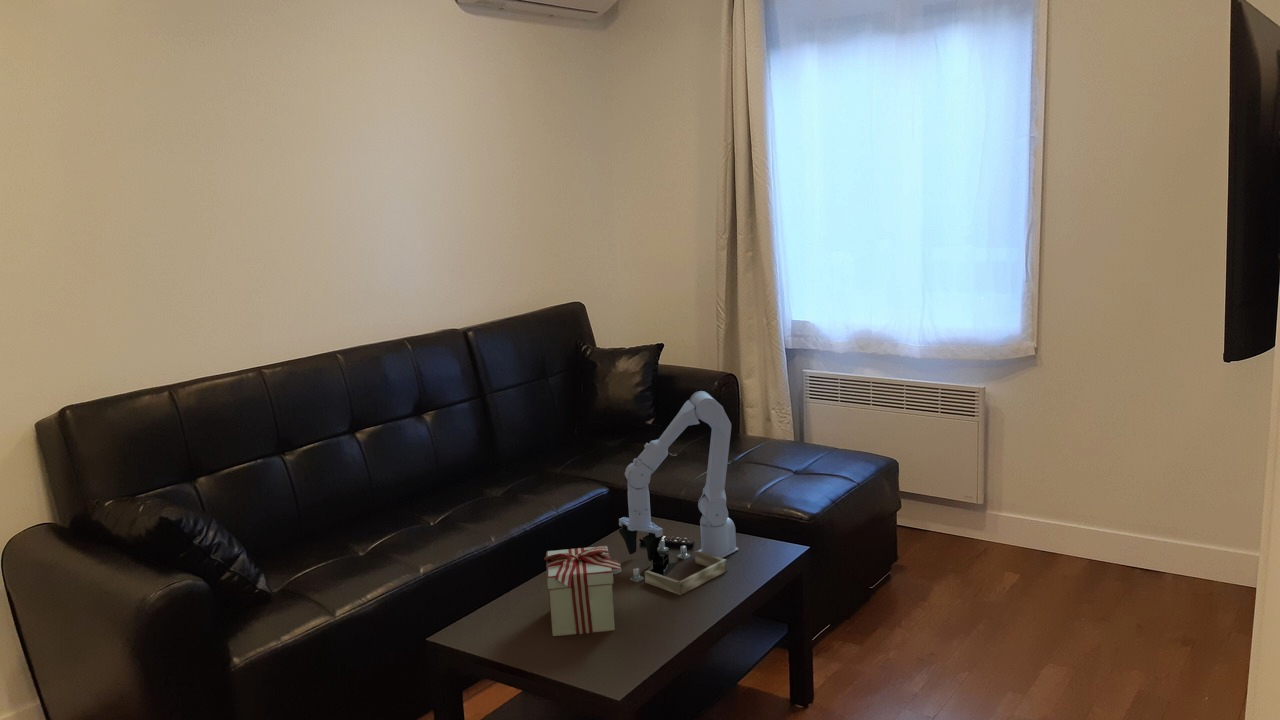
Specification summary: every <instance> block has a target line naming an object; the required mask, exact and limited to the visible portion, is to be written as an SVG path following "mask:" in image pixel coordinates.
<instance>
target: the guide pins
mask: <svg viewBox="0 0 1280 720" xmlns="http://www.w3.org/2000/svg"><path fill="white" fill-rule="evenodd" d="M679 549H680V553H679V554H677V558H678V559H681V560H687V559H689V558H690V557H691V554H689V553H688V552H687V545H683V544H682V545H680V548H679ZM658 550H660V551H669V547H667V546H666V543H665V539H664V538H662V539H661V541H660V543H659V546H658V549H657V551H658ZM614 560H615V561H618V559H614ZM612 571H613V575H617V574H619V573H622V572H623V570H622V568H621V570H616V569H612ZM632 571H633V576H631V577H629V579H630V581H632V582H635V583H639V582H641V581H643V580H645V577H644V576H643V575H641V574H640V567H638V566H637V567H633V568H632Z"/></svg>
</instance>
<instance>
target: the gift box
mask: <svg viewBox="0 0 1280 720" xmlns="http://www.w3.org/2000/svg"><path fill="white" fill-rule="evenodd" d="M615 560H616V559H611V557H610V553H609V547H608V545H599V546H591V547H578V548H569V549H568V548H567V549H557V550H547V551H546V553H545V557H544V559H543V561H545V562H546V567H545V568H546V578H547V579H546V580H547V590H548V602H549V613H550V622H551V631H552V632H551V634H552V637H563V636H573V635H574V636H575V635H583V634H584V635H585V634H593V633H595V634H596V633H604V632H606V633H607V632H613V631H615V628H616V625H615V615H614V614H615V612H614V601H613V600H614V597H613V596H614V595H613V594H614V593H613V584H614V574H613V571H612V569H616V570H621V569H622V566H621V562H620V561H618V560H617V561H615Z"/></svg>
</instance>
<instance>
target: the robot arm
mask: <svg viewBox="0 0 1280 720" xmlns="http://www.w3.org/2000/svg"><path fill="white" fill-rule="evenodd" d="M699 420H700V421H702V422H704V423H705V424H708V426H709V427H710V428H711V432H710V434H711V435H710V443H709V451H708V452H709V453H708V462H707V471H706V479H705V486H704V487H703V488H702V494H701V496H700V498H699V499H698V503H697V507H698V511H699V512H700V513H701V514H702V515H701V517H700V519H699V524H700V525H699V526H700V527H699V528H700V545H701V547H700V549H699V550H697V551H699V552H703V553H706V554H709V555H712V556H716V557H719V558H722V559H724V558H726V557H728V556H729V555H731V554H733V553H735V552H736V551H739V547H738V546H737V540H736V539H737V537H736V536H737V535H736V526H735V523H734V521H733V520H732V519H731V518H730V517H729V511H728V508H727V496H726V490H725V488H726V478H727V471H728V470H727V469H728V461H729V459H728V458H729V451H730V441H731V434H732V422H731V421H730V419H729V416H728V415H727V413H726V411H725V409H724V406H723V405H721V403H719V402H718V401H717V400H716V399H715V398H714V397H713V396H712V395H711V394H710V393H708V392H706V391H703V390H700V391H696V392H694V393H693V394H691V396H690V398H689V399H687V400H686V401H685V402H684V404H683V405H682V406H681V408H680V409H679V411H678V413H677V414H676V416H674V418H673V419H672V421H671V422H670V423H669V425H667V427H666V429H665V430H664V431H663V432H662V434H661V435H660V436H659V438H657V439H655V440H654V439H653V440H650V441H649V443H648V442H646V443H645V444H644V445H643V447H644V449H643V451H642V452H641V453H640V454H639V455H638V456H637V457H635V458H633V460H632V462H631V463H629V464H628V465H627V466H626V468H625V472H624V474H623V475H624V476H625V479H626V480H627V487H626V488H627V504H628V508H627V509H628V517H626V516H623V517H621V518H618V525H619V527H621V528H620V529H619V530H618V533H619V534H620V536H621V537H622V539H623V541H624V543H625V546H626V548H627V552H628V554H629V555H633V554H636V553H637V548H638V547H637V545H638V544H637V539H638V531H639V532H642V533H647V535H645V536H643V537H642V540H643V542H644V544H645V547H646V555H647V559H648V561H649V562H653V555H654V554H655V553H656V552H657V549H658V547H659V543H660V541H661V539H663V537H664V532H663V531H664V529H663V528H662V527H660V526H658V525H657V524H655V523H654V522H652V519H651V518H652V516H651V515H652V514H651V502H650V501H651V500H650V491H649V490H650V489H649V484H650V482H651V477H652V474H654V472H655V471H656V470H657V469H658V468H659V467H660V465H661V464H662V463H663V461H665V459H666V458H667V456H668V455H669V447H670V446H671V445H672V444H673V443H674V442H675V441H676V440H677V438H678V437H679V436H680V435H681V434H682V433H683V432H684V431H685V430H686V429H687V427H688V426H693V425H695V426H696V425H699V424H700V421H699Z"/></svg>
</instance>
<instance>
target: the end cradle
mask: <svg viewBox="0 0 1280 720" xmlns="http://www.w3.org/2000/svg"><path fill="white" fill-rule="evenodd" d="M694 557H695V558H694V560H695V561H694V562H695V564H698V565H702V566H704V568H703V569H701V570H699V571H697V572H695V573H693V574H691V575H689V576H687V577H685V578H684V579H681V580H677V579H674V578H671V577H668V576H667V575H666V576H663V575H660V574H657V573H654V572H651V571H648V569H647V570H645V571H644V573H645V575H644V582H645V584H648V585H651V586H653V587H657V588H659V589H663V590H665V591H668V592H670V593H673V594H676V595H679V596H682V595H684V594H686V593H688V592H689V591H691V590H693V589H695V588H697V587H699V586H701V585H703V584H705V583H707V582H709V581H711V580H713V579H715V578H717V577H719V576H720V575H722V574H724V573H726V572H728V560H727V559H725V558H719V557H716V556H712V555H709V554H706V553H703V552H699V551H698V550H696V551H694ZM705 567H706V568H705Z"/></svg>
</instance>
